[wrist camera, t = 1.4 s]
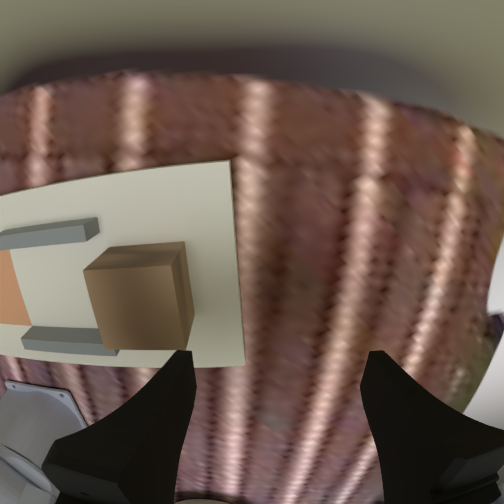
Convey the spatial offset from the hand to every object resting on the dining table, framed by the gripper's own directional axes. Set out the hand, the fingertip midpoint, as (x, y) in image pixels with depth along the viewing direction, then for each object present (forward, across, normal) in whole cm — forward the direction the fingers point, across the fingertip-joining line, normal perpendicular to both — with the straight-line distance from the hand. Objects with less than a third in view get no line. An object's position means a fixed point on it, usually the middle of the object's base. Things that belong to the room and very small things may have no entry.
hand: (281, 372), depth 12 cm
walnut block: (+8, +8, 0) cm, 11 cm away
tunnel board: (+9, +19, +1) cm, 21 cm away
